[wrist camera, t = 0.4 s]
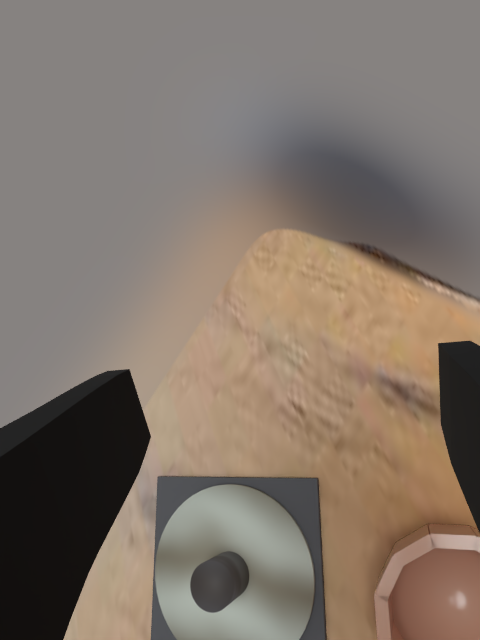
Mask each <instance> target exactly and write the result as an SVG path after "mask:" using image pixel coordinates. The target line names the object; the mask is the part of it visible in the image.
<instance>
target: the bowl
mask: <svg viewBox="0 0 480 640" xmlns="http://www.w3.org/2000/svg"><path fill="white" fill-rule="evenodd" d="M374 601H375V614H376V627H377V639H378V640H480V533H479V531H478V530H476V529H475V528H473V527H471V526H469V525H445V524H428V525H427V524H426V525H425V526H423V527H421V528H420V529H418V530H416V531H414V532H413V533H411V534H409V535H407V536H406V537H404V538H402V539H401V540H399V541H397V542H396V543H395V544H394V546H393V548H392V551H391V553H390V555H389V557H388V559H387V561H386V563H385V565H384V567H383V570H382V572H381V574H380V576H379V579H378V582H377V586H376V589H375V593H374Z"/></svg>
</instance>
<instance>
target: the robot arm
mask: <svg viewBox="0 0 480 640" xmlns="http://www.w3.org/2000/svg"><path fill="white" fill-rule="evenodd" d="M438 348H439V379H440V410H441V426H442V430H443V434H444V438H445V442H446V446H447V449H448V453H449V457H450V460H451V464H452V467H453V469H454V472H455V474H456V477H457V479H458V482H459V484H460V487H461V489H462V491H463V494H464V496H465V499H466V501H467V504H468V506H469V508H470V511H471V513H472V516H473V518H474V521H475V523H476V525H477V528H478V530H479V533H480V346H479V345H477V344H475V343H473V342H471V341H461V342H449V343H438ZM150 438H151V435H150V432H149V429H148V426H147V423H146V420H145V417H144V413H143V410H142V407H141V404H140V401H139V398H138V395H137V392H136V389H135V385H134V382H133V379H132V376H131V373H130V370H129V369H128V370H115V371H107V372H104V373H102V374H99V375H97V376H95V377H93V378H91V379H89V380H87V381H85V382H83V383H81V384H79V385H78V386H76V387H74V388H72V389H70V390H69V391H67V392H65V393H63V394H61V395H60V396H58V397H56V398H55V399H53V400H51V401H50V402H48V403H46V404H44V405H42V406H41V407H39V408H37V409H35V410H34V411H32V412H30V413H28V414H26V415H24V416H22V417H21V418H19V419H17V420H15V421H13V422H11V423H9V424H8V425H6V426H4V427H2V428H0V640H63V639H64V636H65V633H66V630H67V628H68V625H69V622H70V619H71V616H72V614H73V611H74V609H75V606H76V604H77V601H78V599H79V596H80V593H81V591H82V588H83V586H84V583H85V581H86V578H87V576H88V573H89V571H90V569H91V567H92V565H93V562H94V560H95V558H96V556H97V554H98V552H99V550H100V548H101V546H102V544H103V542H104V540H105V538H106V536H107V534H108V532H109V530H110V529H111V527H112V525H113V523H114V521H115V519H116V517H117V515H118V513H119V511H120V509H121V507H122V505H123V503H124V501H125V499H126V497H127V495H128V493H129V491H130V489H131V487H132V485H133V483H134V481H135V479H136V477H137V475H138V473H139V471H140V468H141V465H142V462H143V460H144V457H145V454H146V451H147V447H148V444H149V441H150Z"/></svg>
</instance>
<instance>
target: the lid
mask: <svg viewBox="0 0 480 640" xmlns="http://www.w3.org/2000/svg"><path fill="white" fill-rule="evenodd" d="M155 582H156V590H157V595H158V600H159V604H160V607H161V610H162V613H163V616H164V618H165V620H166V622H167V625H168V626H169V628H170V630H171V631H172V633H173V635H174V636H175V638H176V639H177V640H299V639H300V637H301V636H302V634H303V632H304V631H305V629H306V626H307V624H308V621H309V619H310V616H311V612H312V609H313V605H314V597H315V571H314V564H313V559H312V555H311V551H310V549H309V546H308V543H307V540H306V538H305V536H304V534H303V532H302V530H301V528H300V527H299V525H298V524H297V522H296V520H295V519H294V518H293V517H292V515H291V514H290V513H289V512H288V510H287V509H285V508H284V507H283V506H282V505H281V504H280V503H279V502H278V501H277V500H275V499H274V498H273V497H271V496H270V495H268V494H266V493H264V492H262V491H260V490H258V489H255V488H253V487H249V486H245V485H238V484H225V485H218V486H213V487H209V488H207V489H204V490H201V491H200V492H198V493H196V494H194V495H192V496H191V497H190V498H188V499H187V500H186V501H185V502H184V503H183V504H182V505H180V506H179V507H178V509H177V510H176V511H175V512H174V514H173V515H172V516H171V518H170V520H169V521H168V523H167V525H166V527H165V529H164V531H163V533H162V536H161V539H160V542H159V545H158V550H157V555H156V564H155Z"/></svg>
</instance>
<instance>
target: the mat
mask: <svg viewBox="0 0 480 640" xmlns="http://www.w3.org/2000/svg"><path fill="white" fill-rule="evenodd" d="M225 484H238V485H245V486H249V487H253V488H255V489H258V490H260V491H262V492H264V493H266V494H268V495H270V496H271V497H273V498H274V499H275V500H277V501H278V502H279V503H280V504H281V505H282V506H283V507H284V508H285V509H287V510H288V512H289V513H290V514H291V515H292V517H293V518H294V519H295V520H296V522H297V524H298V525H299V527H300V528H301V530H302V532H303V534H304V536H305V538H306V540H307V543H308V546H309V549H310V551H311V555H312V559H313V564H314V571H315V597H314V605H313V609H312V612H311V616H310V619H309V621H308V624H307V626H306V629H305V631H304V632H303V634H302V636H301V637H300V639H299V640H327V639H326V620H325V600H324V581H323V562H322V542H321V523H320V503H319V484H318V478H251V477H158V483H157V506H156V530H155V554H154V578H153V602H152V626H151V640H177V639H176V638H175V636H174V635H173V633H172V631H171V630H170V628H169V626H168V625H167V622H166V620H165V618H164V616H163V613H162V610H161V607H160V604H159V600H158V595H157V590H156V582H155V564H156V555H157V550H158V545H159V542H160V539H161V536H162V533H163V531H164V529H165V527H166V525H167V523H168V521H169V520H170V518H171V516H172V515H173V514H174V512H175V511H176V510H177V509H178V507H179V506H180V505H182V504H183V503H184V502H185V501H186V500H187V499H188V498H190V497H191V496H192V495H194V494H196V493H198V492H200V491H201V490H204V489H207V488H209V487H213V486H218V485H225Z"/></svg>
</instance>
